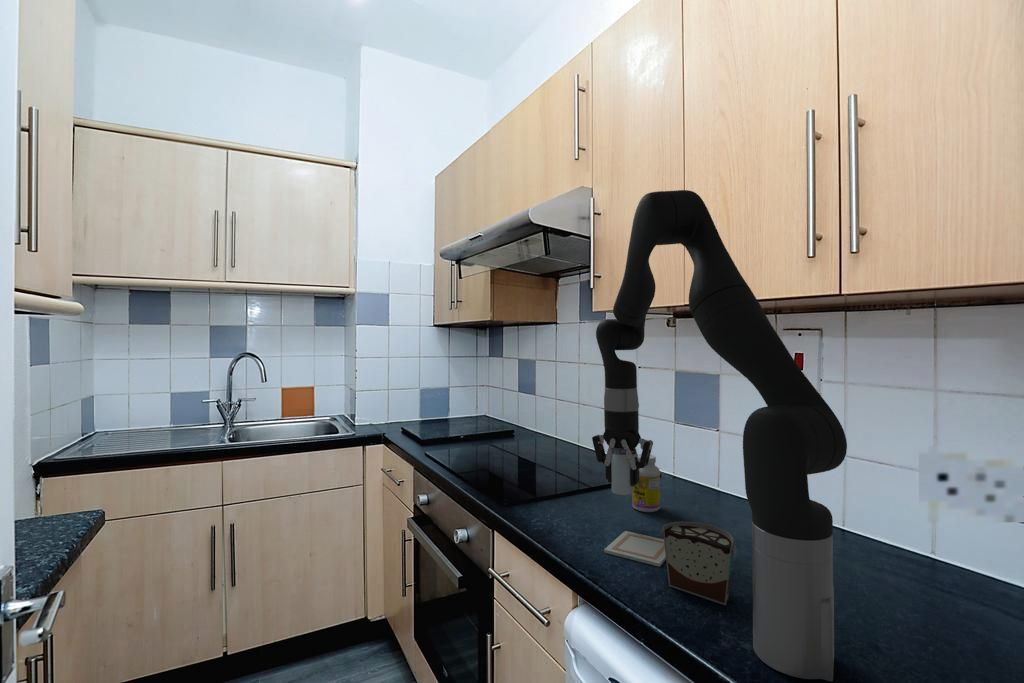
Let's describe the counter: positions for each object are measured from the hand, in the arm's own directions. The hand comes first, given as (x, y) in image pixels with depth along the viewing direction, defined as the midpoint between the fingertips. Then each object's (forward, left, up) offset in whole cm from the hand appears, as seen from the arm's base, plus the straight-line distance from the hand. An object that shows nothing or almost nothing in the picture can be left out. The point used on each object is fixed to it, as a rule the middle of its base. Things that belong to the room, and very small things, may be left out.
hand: (622, 483), depth 111 cm
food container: (-22, +19, -10) cm, 30 cm away
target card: (-8, +10, -9) cm, 16 cm away
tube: (0, 0, -2) cm, 2 cm away
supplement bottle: (-1, -13, -10) cm, 16 cm away
